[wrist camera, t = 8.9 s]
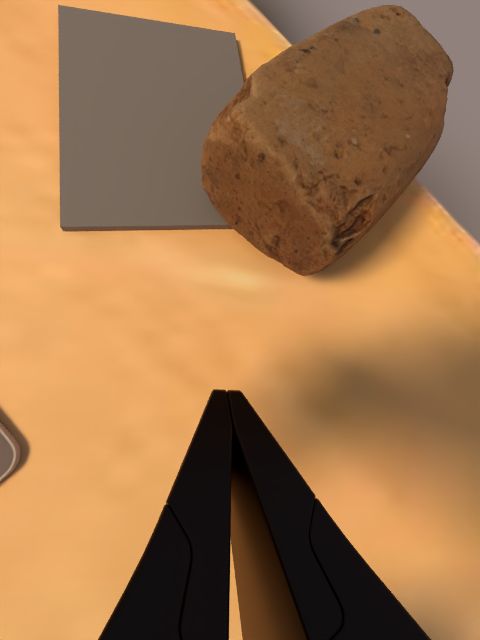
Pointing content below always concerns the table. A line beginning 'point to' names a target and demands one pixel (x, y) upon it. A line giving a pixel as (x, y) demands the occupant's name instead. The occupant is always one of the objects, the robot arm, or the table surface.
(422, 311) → the table surface
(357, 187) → the brown pitted rounded part
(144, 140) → the mat
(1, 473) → the smartphone
